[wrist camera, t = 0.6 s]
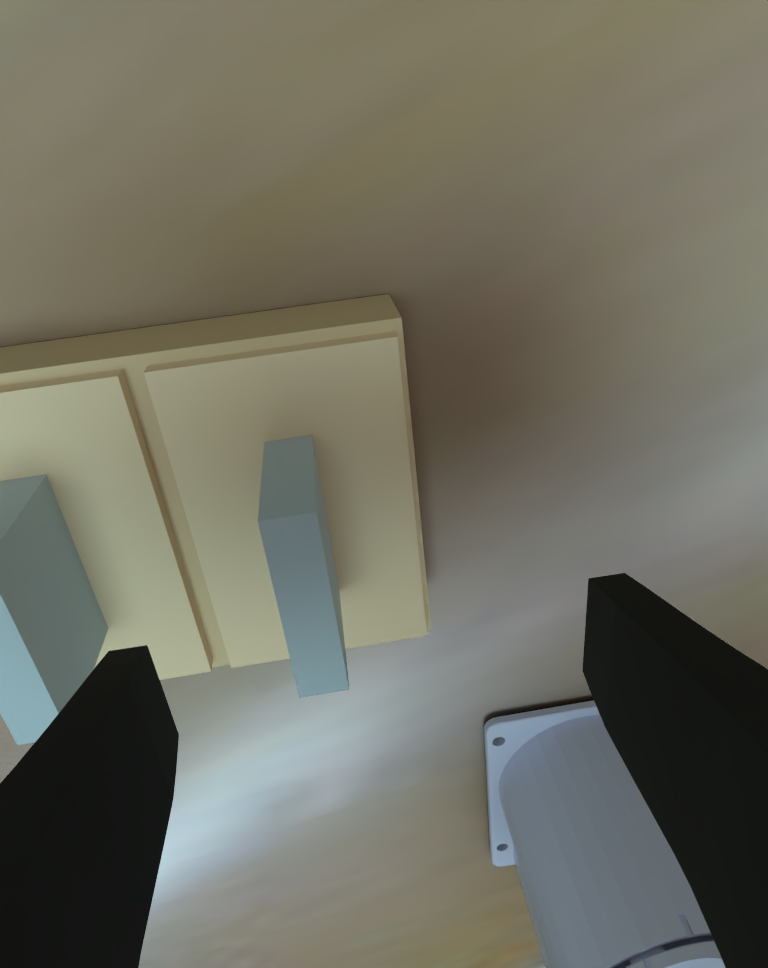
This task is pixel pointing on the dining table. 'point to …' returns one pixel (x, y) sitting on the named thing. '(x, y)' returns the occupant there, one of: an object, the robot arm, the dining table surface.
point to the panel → (199, 342)
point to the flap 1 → (83, 548)
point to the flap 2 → (298, 499)
